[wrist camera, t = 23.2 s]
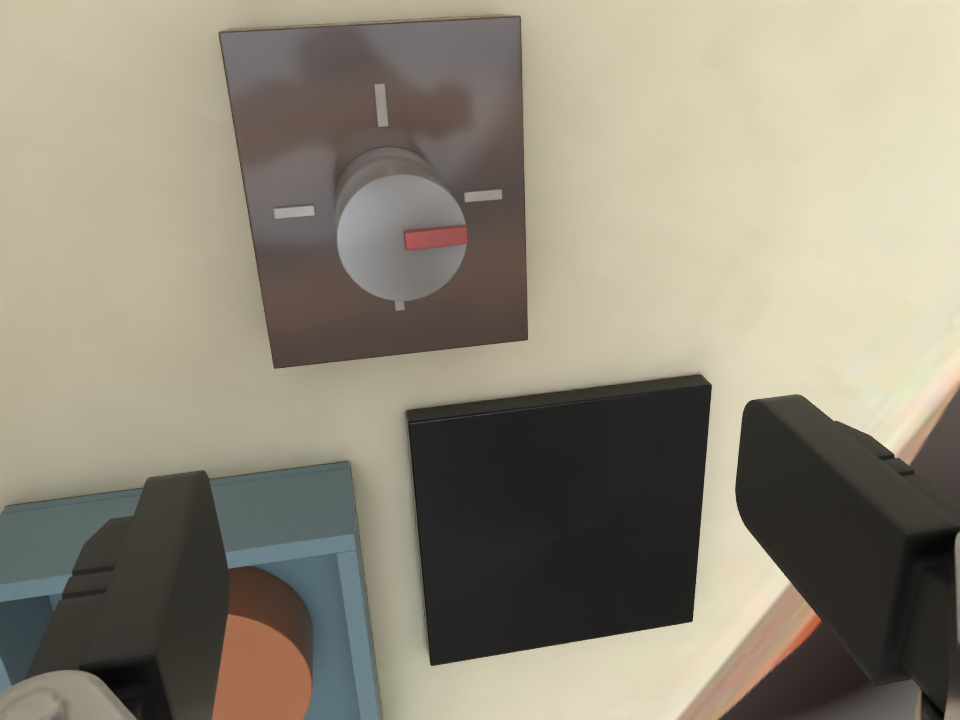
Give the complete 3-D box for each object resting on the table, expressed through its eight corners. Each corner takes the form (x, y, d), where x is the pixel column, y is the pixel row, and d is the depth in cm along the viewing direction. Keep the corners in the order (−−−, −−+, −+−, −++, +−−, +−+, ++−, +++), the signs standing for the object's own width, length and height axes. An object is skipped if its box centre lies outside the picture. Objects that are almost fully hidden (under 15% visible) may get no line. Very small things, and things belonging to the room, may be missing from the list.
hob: (405, 410, 36) (407, 422, 35) (701, 373, 38) (712, 384, 37) (427, 649, 42) (430, 666, 41) (684, 607, 44) (693, 622, 43)
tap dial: (342, 262, 30) (345, 312, 25) (326, 152, 28) (327, 182, 23) (449, 250, 30) (473, 296, 25) (440, 141, 29) (464, 169, 24)
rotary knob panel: (227, 28, 29) (217, 32, 26) (503, 14, 30) (522, 15, 27) (277, 339, 34) (273, 371, 31) (512, 314, 35) (529, 342, 32)
